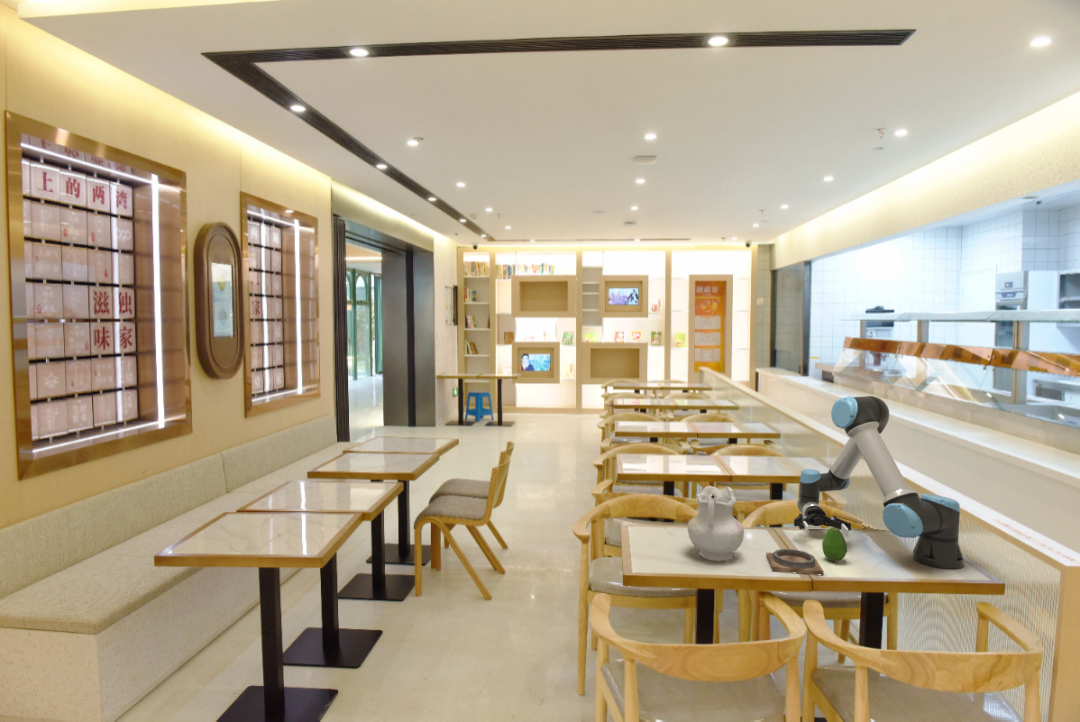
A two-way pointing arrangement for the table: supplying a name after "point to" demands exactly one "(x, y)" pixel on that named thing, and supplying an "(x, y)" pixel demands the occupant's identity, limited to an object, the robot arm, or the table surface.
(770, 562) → the ring stand
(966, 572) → the table surface
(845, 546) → the avocado
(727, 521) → the ceramic pitcher
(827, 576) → the table surface
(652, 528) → the table surface
